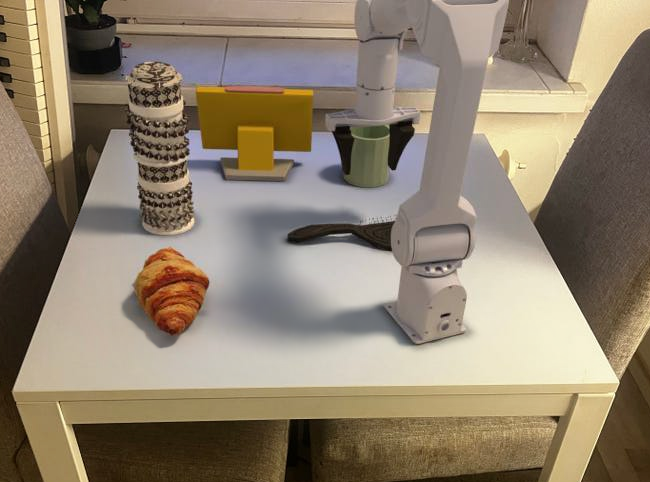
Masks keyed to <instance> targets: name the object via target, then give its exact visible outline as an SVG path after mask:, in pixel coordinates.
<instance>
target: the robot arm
mask: <svg viewBox="0 0 650 482" xmlns="http://www.w3.org/2000/svg"><path fill="white" fill-rule="evenodd" d="M509 4H510V0H356V2H355V6H354V17H353V18H354V30H355V34H356V37H357V39H358V50H357V51H358V52H357V53H358V55H357V66H356V67H357V69H356V84H355V99H354V101H355V102H354V108H349V109H345V110H342V111H338V112H333V113H332V112H331V113H325V121H324V127H325V128H326V130H327V131H328V132H331V133H332V136H333V138H334V141H335V143H336V146H337V150H338V154H339V158H340V165H341V171H342V172H343V175H344V174H345V175H350V171H351V154H352V148H353V143H354V139H355V138H354V137H353V136H352V135H351V130H350V128H354V127H367V126H381V125H388V126H389V151H388V166H389V170H391V171H392V172H393V171H397V167H398V165H399V162H400V159H401V158H402V154H403V153H404V150H405V149H406V147H407V145H408V144H409V143H410V141H411V140H412V138H413V137H414V136H415V131H416V128H415V127H414V126H413V125H420V120H421V111H420V110H419V109H418V107H416V106H415V107H414V106H413V107H403V106H394V102H395V92H396V83H397V82H396V81H397V80H396V79H397V72H398V71H397V70H398V61H399V54H400V53H402V50H403V48H404V47H403V46H404V40H405V37H406V36H407V33H408V30H409V29H412V32H413V34H414V37H415V39H416V42H417V45H418V47H419V49H420V52H421V54H422V56H423V57H426V58H428V59H430V60H431V61H433V62H435V63H437V65H438V69H439V70H438V74H437V75H438V76H437V82H436V88H435V94H434V99H433V105H432V112H431V117H430V125H429V132H428V136H427V142H426V149H425V154H424V159H423V166H422V172H421V178H420V179H421V180H420V185H419V190H418V191H416V192H415V193H414V194H412V195H411V196H410V197H408V198H407V199H406V200H405V201H404V202H402V203H401V204H400V205H398V210H397V214H396V215H397V218H396V217H395V220H394V221H395V223H394V224H393V226H392V230H391V247H392V251H391V252H392V255H393V257H394V260H395V261H396V262H397V263H398V264H399V265H400V274H399V275H400V276H399V285H398V292H397V300H396V301H390V302H387V303H385V304H384V307H383V308H384V309H385V310H386V311H387V312H388V314H389V315H390V316H391V317H392V318H393V319H394V321H395V322H396V323H397V325H399V327H400V328H401V329H402V330H403V332H404V333H405V334H406V335H407V336H408V337H409V339H410V340H411V341H412V342H413V343H414V344H417V345H420V344H424V343H427V342H431V341H436V340H440V339H444V338H447V337H452V336H455V335H459V334H463V333H466V331H467V328H466V327H465V326H464V324H463V320H464V315H465V309H466V304H467V299H468V294H467V290H466V288H465V287H464V286H463V284H462V283H461V281H460V279H459V275H458V270H457V269H461V268H462V266H463V260H464V261H466V260H468V259H470V258H471V256H472V254H473V252H474V250H475V248H476V243H477V242H476V241H477V232H476V226H477V219H478V217H477V213H476V211H475V209H474V207H473V205H472V204H471V202H469V201H468V200H467V199H466V198H465V197H464V196H462V195H461V194H462V190H463V185H464V179H465V174H466V170H467V164H468V160H469V155H470V151H471V145H472V142H473V141H472V140H473V136H474V131H475V126H476V121H477V117H478V112H479V107H480V103H481V97H482V93H483V88H484V82H485V79H486V75H487V68H488V64H489V59H490V58H491V57H492V56H493V55H495V54H496V53H497V52H499V49H500V43H501V39H502V37H503V31H504V27H505V23H506V18H507V13H508V8H509Z"/></svg>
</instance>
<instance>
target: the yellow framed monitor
mask: <svg viewBox="0 0 650 482" xmlns="http://www.w3.org/2000/svg"><path fill="white" fill-rule="evenodd" d="M195 98H196V99H195V100H196V107H197V114H198V122H199V123H198V124H199V130H200V132H199V133H200V139H201V148H202V149H203V150H220V151H221V150H226V151H227V150H228V151H237V157H226V156H225V157H222V156H221V157H220V165H221V168H222V171H223V174H224V178H225V180H226V181H256V182H257V181H258V182H259V181H262V182H285V181H286V179H287V178H288V177H289V174H290V172H291V170H292V168H293V166H294V165H295V159H294V158H293V159H292V158H274V152H293V153H294V152H296V153H297V152H298V153H311V152H312V140H313V110H314V90H312V89H292V88H291V89H289V88H283V87H265V86H236V85H235V86H233V85H232V86H231V85H228V86H226V87H223V86H222V87H221V86H196V88H195Z"/></svg>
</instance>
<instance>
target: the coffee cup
mask: <svg viewBox="0 0 650 482" xmlns="http://www.w3.org/2000/svg"><path fill="white" fill-rule="evenodd" d="M350 130H351V135H352V136H353V137H354V138H355V139H354V143H353V148H352V154H351V171H350V175H345V174H344V173H343V179H344V181H345V182H347V183H348V184H350V185H352V186H355V187H359V188H378V187H381V186H383V185H385V184H386V183H387V182H388V180H389V177H390V168H389V166H388V151H389V125H381V126H367V127H354V128H350Z"/></svg>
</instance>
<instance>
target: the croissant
mask: <svg viewBox="0 0 650 482" xmlns="http://www.w3.org/2000/svg"><path fill="white" fill-rule="evenodd" d="M209 287H210V279H209V276H208V275H207V274H206V273H205V272H204V271H203V270H202V269H201V268H200V267H197V266H196V265H195V264H194V263H193V262H192V261H191V260H189V259H187V258H185V256H184V255H183V254H182V253H181V252H179V251H177V250H176V249H174V248H173V247H172V246H169V247H165V248H161V249H159V250H157V251H155V253H153V254H150V255H149V256H148V258H147V259H146V260H145V261H144V264H143V267H142V270H140V271H139V272H138V274H137V276H136V279H135V282H134V289H135V293H136V297H137V299H138V301H139V303H140V306H141V307H142V308H143V310H144V312H145V314H147V316H148V318H150V319H151V321H152V322H153V323H154V324H155V325H156V328H157V330H159V331H160V332H161V331H162V332H163V333H165V334H168V335H170V336H177V335H180V334H181V333H183V332H184V330H185V328H187V327H189V326H190V325H191V324H193V322H194V321H195V320H196V317H197V314H198V313H199V312H200V310H201V309H202V307H203V305H204V299H205V296H206V294H207V290H208V289H209Z"/></svg>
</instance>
